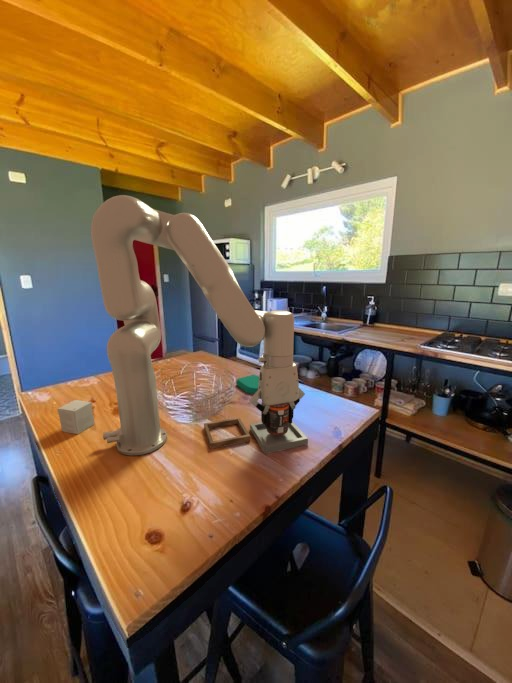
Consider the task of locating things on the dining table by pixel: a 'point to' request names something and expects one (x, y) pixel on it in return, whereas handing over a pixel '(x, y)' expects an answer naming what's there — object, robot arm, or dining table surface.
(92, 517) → the dining table surface
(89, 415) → the product box
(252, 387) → the spray bottle
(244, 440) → the holder
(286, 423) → the supplement bottle
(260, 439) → the tray
